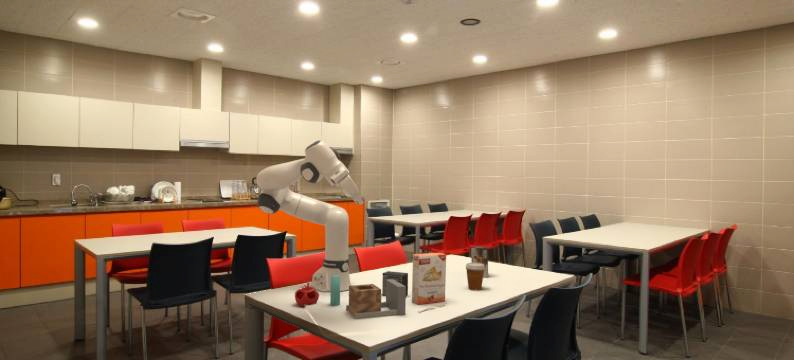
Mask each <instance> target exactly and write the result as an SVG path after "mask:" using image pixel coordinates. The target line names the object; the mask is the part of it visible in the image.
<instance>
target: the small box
mask: <svg viewBox="0 0 794 360" xmlns="http://www.w3.org/2000/svg"><path fill="white" fill-rule="evenodd" d="M388 279H393V280H395V281H397V282H399V283H401V284H402V285H404V286H406V297H408V295H409V273H408V272H401V271H399V272H398V271H391V270H390V271H388V270H387V271H385V272H382V286H381V287H382V288H381V297H386V280H388Z"/></svg>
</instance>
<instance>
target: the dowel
mask: <svg viewBox="0 0 794 360" xmlns="http://www.w3.org/2000/svg"><path fill="white" fill-rule="evenodd" d="M329 292H330V302H329V304H330V306H333V307H339V306H340V305H341V291H340V275H331V291H329Z"/></svg>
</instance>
